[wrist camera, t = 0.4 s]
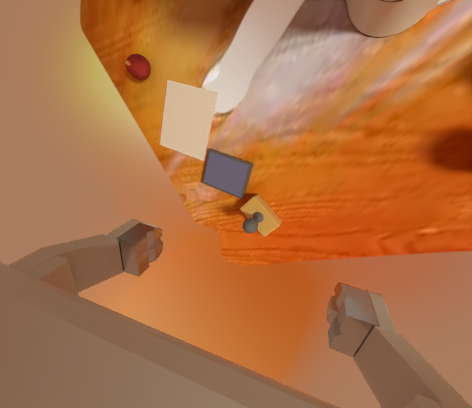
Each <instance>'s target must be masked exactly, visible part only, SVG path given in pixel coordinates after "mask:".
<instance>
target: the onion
mask: <svg viewBox="0 0 472 408" xmlns="http://www.w3.org/2000/svg"><path fill="white" fill-rule="evenodd" d="M125 63H126V67H127V69H128V71H129V73H130V74H131V75H132V76H133V77H135V78H137V79H139V80H144V79H146V78H148V77H149V75H150V72H151V69H150V64H149V62H148V60H147V59H146V58H145V57H143V56H142V55H139V54H132V55H130V56H129V57H128V58H127V60H126V62H125Z"/></svg>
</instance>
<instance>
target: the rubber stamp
mask: <svg viewBox="0 0 472 408" xmlns="http://www.w3.org/2000/svg"><path fill="white" fill-rule="evenodd" d="M240 210H241V212H242V213H243V214H244V215H245V216H246V217H247V219H246V220H245V221H244V223H243V229H244V231H245V232H247V233H253V232H255V231H256V230H258V231H259V233H260V234H261V235H262V236H263V237H265V236H266V235H268V234H269V233H270V232H272V231H273V230H274V229H276V228H277V227H278V226H279V225H280V224H281V222H282V220H281V219H280V218H279V217H278V216H277V215H276V213H275V212H274V211H273V210H272V209H271V208H270V207H269V205H268V204H267V203H266V202H265V201H264V200H263V199H262V197H261V196H260V195H259V194H256V195H255V196H253V197H252V198H251V199H250V200H249V201H248V202H247V203H246V204H244V205H243V206H242V207H241V208H240Z"/></svg>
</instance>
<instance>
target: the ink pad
mask: <svg viewBox="0 0 472 408" xmlns="http://www.w3.org/2000/svg"><path fill="white" fill-rule="evenodd" d="M252 167H253V163H250V162H248V161H245V160H242V159H239V158H236V157H233V156H231V155H228V154H225V153H222V152H219V151H216V150H213V149H209V152H208V156H207V161H206V166H205V171H204V176H203V181H202V183H204V184H206V185H209V186H211V187H214V188H216V189H219V190H221V191H223V192H226V193H228V194H231V195H233V196H236V197H238V198H240V199H243V197H244V194H245V191H246V187H247V184H248V180H249V177H250V174H251V170H252Z"/></svg>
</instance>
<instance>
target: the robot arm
mask: <svg viewBox="0 0 472 408" xmlns="http://www.w3.org/2000/svg"><path fill="white" fill-rule="evenodd" d="M449 1H451V0H346V3H347V8H348V13H349V17H350V19H351V21H352V23H353V25H354V26H355V27H356V28H357V29H358V30H359V31H360V32H362V33H364V34H366V35H369V36H373V37H385V36H390V35H394V34H397V33H399V32H402V31H404V30H406V29H407V28H409V27H411V26H412V25H414V24H415V23H416V22H418V21H419V20H420V19H421V18H422V17H424V16H425V15H426V14H427V13H428V12H430V11H431V10H433V9H435V8H437V7H439V6H441V5H444V4H446V3H447V2H449ZM161 236H162V229H161V228H159V227H157V226H154V225H151V224H148V223H145V222H141V221H138V220H135V219H132V220H130V221H128V222H126V223H125V224H123V225H122V226H120V227H119V228H117V229H115V230H113V231H112V232H110V233H109V234H107V235H104V234H103V235H98V236H93V237H89V238H84V239H80V240H75V241H71V242H66V243H62V244H57V245H52V246H48V247H44V248H40V249H38V250H37V251H35V252H33V253H31V254H29V255H27V256H25V257H23V258H21V259H19V260H17V261H15V262H14V263H12V264H10V265H5V264H3V263H1V262H0V408H339V407H336V406H334V405H332V404H329V403H327V402H325V401H322V400H320V399H318V398H315V397H313V396H311V395H308V394H306V393H304V392H302V391H299V390H297V389H294V388H292V387H290V386H288V385H285V384H283V383H280V382H278V381H276V380H273V379H271V378H269V377H266V376H264V375H262V374H259V373H257V372H255V371H252V370H250V369H248V368H245V367H243V366H241V365H238V364H236V363H233V362H231V361H229V360H227V359H224V358H222V357H220V356H217V355H214V354H213V353H210V352H208V351H205V350H203V349H201V348H198V347H196V346H194V345H192V344H189V343H187V342H185V341H182V340H180V339H178V338H175V337H173V336H171V335H168V334H166V333H164V332H161V331H159V330H156V329H154V328H152V327H150V326H147V325H145V324H143V323H140V322H138V321H136V320H134V319H131V318H129V317H127V316H124V315H122V314H119V313H117V312H115V311H112V310H110V309H108V308H105V307H103V306H101V305H98V304H96V303H94V302H92V301H89V300H87V299H85V298H82V297H80V296H79V295H78V292H80V291H82V290H85V289H87V288H89V287H91V286H94V285H96V284H98V283H100V282H103V281H105V280H107V279H109V278H111V277H114V276H116V275H118V274H120V273H122V272H123V271H124V272H127V273H130V274H133V275H136V276H140V275H141V274H142V273H143V272H144V271H145V270H146V269H147V268H148V267H149V263H150V262H153V261H155V260H156V259H157V258H158V257H159V256H160V254H161V252H162V249H163V242H162V241H161V239H160V237H161ZM327 321H328V323H329V324H330V328H329V330H328V337H329V347H330V348H331V349H334V350H336V351H339V352H341V353H344V354H347V355H349V356H351V357H354V361H355V362H356V364H357V366H358V367H359V369H360V371H361V373H362V374H363V376H364V378H365V379H366V381H367V383H368V385H369V386H370V388H371V390H372V391H373V393H374V395H375V396H376V398H377V400H378V402H379V403H380V405H381V407H382V408H472V407H471V406H470V405H469V404H468V403H467V402H466V401H465V400H464V399H463V398H462V396H461V395H460V394H459V393H458V392H457V391H456V390H455V389H454V388H453V387H452V386H451V385H450V384H449V383H448V382H447V381H446V380H445V379H444V378H443V377H442V376H441V375H440V374H439V373H438V372H437V371H436V370H435V369H434V368H433V367H432V366H431V364H430V363H429V362H427V361H426V359H425V358H424V357H423V356H422V355H421V354H420V353H419V352H418V351H417V350H416V349H415V348H414V347H413V346H412V345H411V344H410V343H409V342H408V341H407V340H406V339H405V338H404V337H403V336H402V335H401V334H398V333H397V332H396V330H395V327H394V324H393V322H392V319H391V316H390V314H389V311H388V309H387V306H386V304H385V301H384V298H383V296H382V295H381V294H378V293H374V292H371V291H367V290H362V289H359V288H356V287H353V286H349V285H346V284H343V283H338V284H337V285H336V287H335V295H334V296H332V297H331V298H330V301H329V303H328V308H327Z"/></svg>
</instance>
